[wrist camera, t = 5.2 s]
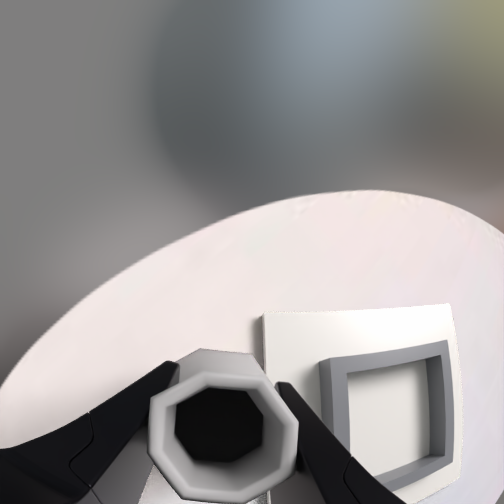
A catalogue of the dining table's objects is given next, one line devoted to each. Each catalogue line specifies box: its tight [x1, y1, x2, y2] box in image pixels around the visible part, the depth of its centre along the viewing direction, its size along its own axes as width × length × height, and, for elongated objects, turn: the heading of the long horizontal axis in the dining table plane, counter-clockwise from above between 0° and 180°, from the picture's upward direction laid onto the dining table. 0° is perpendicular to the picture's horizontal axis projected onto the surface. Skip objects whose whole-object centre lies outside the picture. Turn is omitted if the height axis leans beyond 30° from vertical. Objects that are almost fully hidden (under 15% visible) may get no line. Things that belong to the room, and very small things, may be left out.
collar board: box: [262, 303, 463, 504], centre depth 17 cm, size 20×20×3 cm
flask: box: [147, 348, 299, 504], centre depth 9 cm, size 7×7×10 cm
